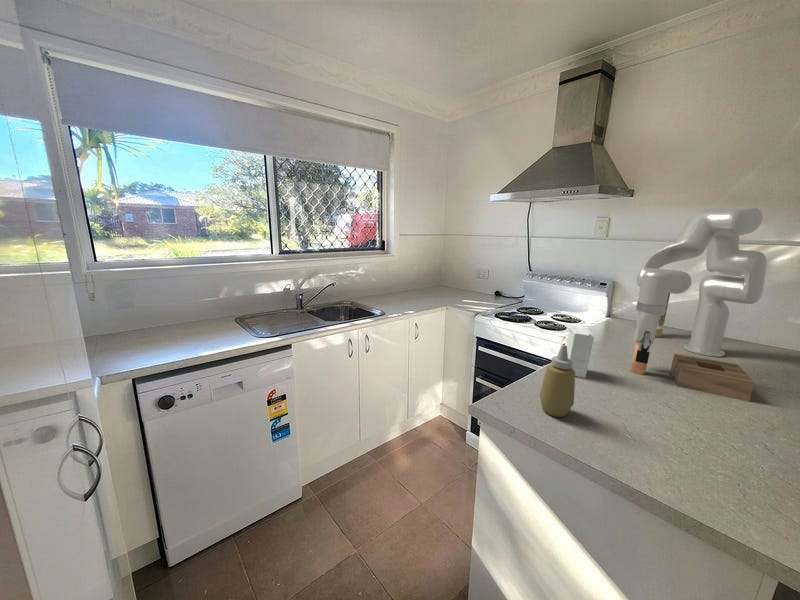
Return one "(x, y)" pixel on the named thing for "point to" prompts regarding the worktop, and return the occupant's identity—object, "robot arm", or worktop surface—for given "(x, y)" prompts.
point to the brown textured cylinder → (661, 321)
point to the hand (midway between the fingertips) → (640, 357)
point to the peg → (638, 363)
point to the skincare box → (579, 349)
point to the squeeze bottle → (558, 385)
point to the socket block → (711, 376)
